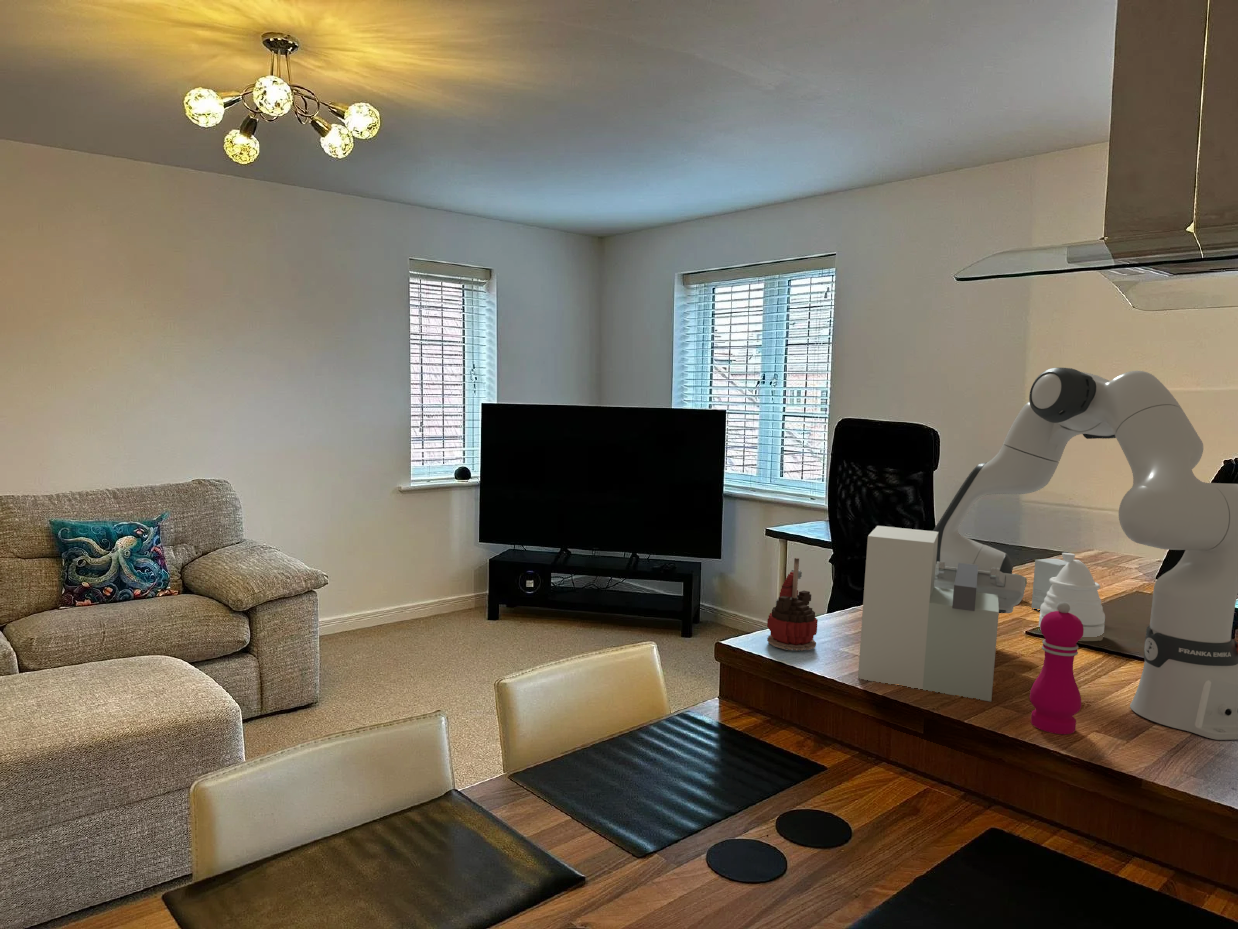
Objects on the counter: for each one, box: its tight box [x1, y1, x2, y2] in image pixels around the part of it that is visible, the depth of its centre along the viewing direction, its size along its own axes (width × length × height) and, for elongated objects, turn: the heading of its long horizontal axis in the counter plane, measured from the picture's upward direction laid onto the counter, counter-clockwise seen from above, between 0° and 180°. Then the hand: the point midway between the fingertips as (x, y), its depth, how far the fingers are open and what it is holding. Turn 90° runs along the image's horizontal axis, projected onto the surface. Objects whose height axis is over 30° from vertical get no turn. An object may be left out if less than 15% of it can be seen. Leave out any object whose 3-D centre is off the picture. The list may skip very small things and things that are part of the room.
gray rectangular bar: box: [952, 563, 978, 611], centre depth 152 cm, size 22×4×4 cm, turn 156°
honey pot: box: [1038, 552, 1106, 637], centre depth 189 cm, size 13×13×18 cm
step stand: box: [857, 525, 1000, 702], centre depth 153 cm, size 14×22×26 cm, turn 66°
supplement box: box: [1031, 558, 1069, 610], centre depth 208 cm, size 7×7×13 cm
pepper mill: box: [1029, 602, 1084, 735], centre depth 132 cm, size 7×7×20 cm
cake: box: [766, 557, 819, 651], centre depth 170 cm, size 11×9×18 cm
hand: (967, 568), depth 158 cm, fingers open, 8 cm apart
